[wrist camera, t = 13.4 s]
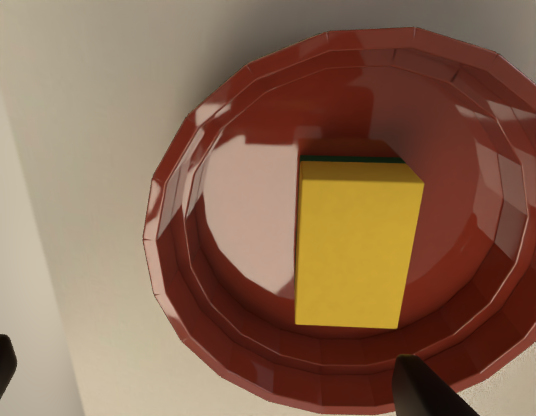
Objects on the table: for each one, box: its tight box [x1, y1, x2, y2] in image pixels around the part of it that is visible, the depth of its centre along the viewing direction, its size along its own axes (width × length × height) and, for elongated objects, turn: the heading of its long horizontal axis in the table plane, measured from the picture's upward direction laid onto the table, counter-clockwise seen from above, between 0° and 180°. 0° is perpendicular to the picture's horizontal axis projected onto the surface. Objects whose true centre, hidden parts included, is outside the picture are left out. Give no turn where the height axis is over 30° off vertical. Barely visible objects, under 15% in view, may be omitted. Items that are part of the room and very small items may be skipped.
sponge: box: [294, 155, 424, 329], centre depth 17 cm, size 7×5×3 cm, turn 0°
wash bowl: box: [143, 27, 536, 415], centre depth 17 cm, size 17×17×4 cm
